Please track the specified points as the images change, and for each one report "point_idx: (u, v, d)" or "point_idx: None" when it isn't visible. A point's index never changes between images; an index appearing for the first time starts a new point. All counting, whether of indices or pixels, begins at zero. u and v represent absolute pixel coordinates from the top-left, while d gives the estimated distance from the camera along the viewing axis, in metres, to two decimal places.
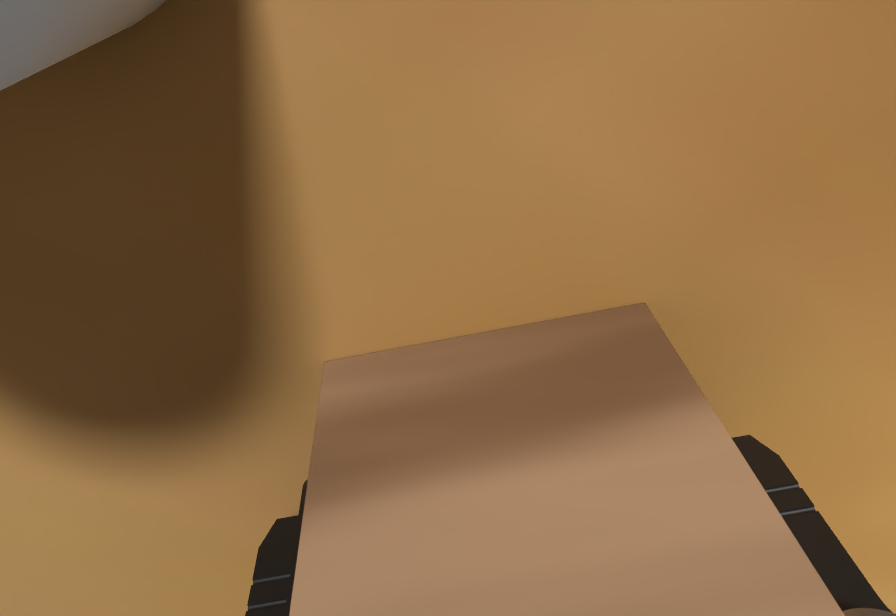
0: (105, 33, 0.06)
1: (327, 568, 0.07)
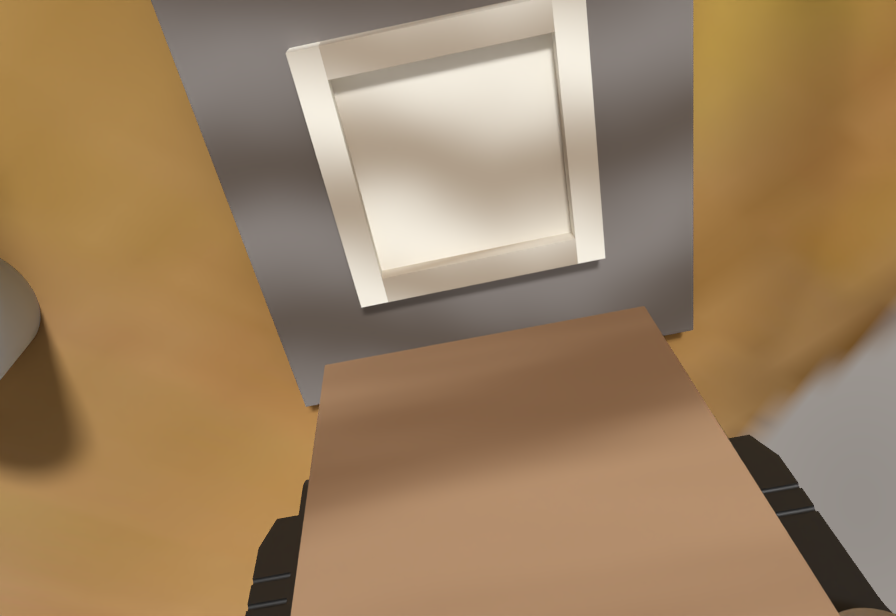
0: None
1: (329, 571, 0.07)
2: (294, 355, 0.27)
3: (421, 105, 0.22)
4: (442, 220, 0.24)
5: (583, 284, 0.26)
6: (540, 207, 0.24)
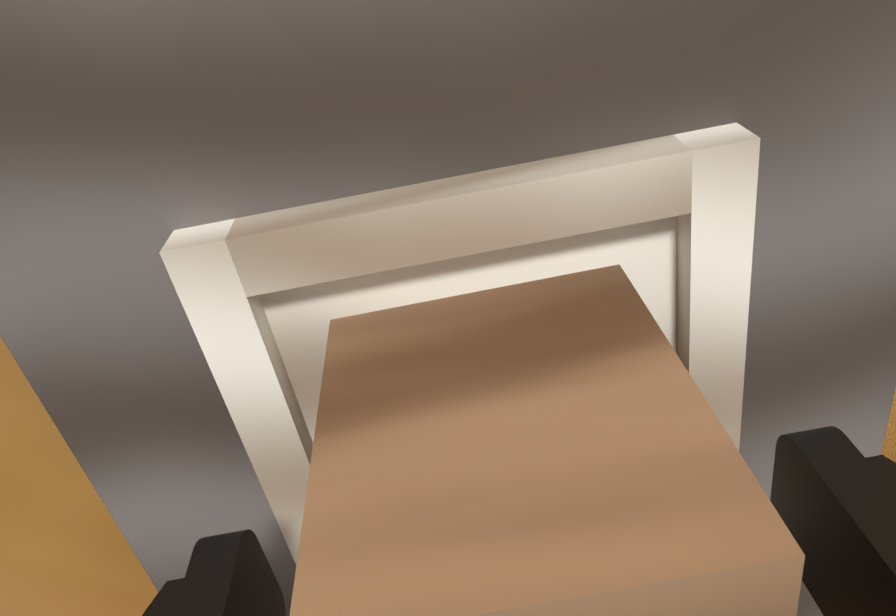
0: None
1: (334, 480, 0.08)
2: None
3: None
4: None
5: None
6: None
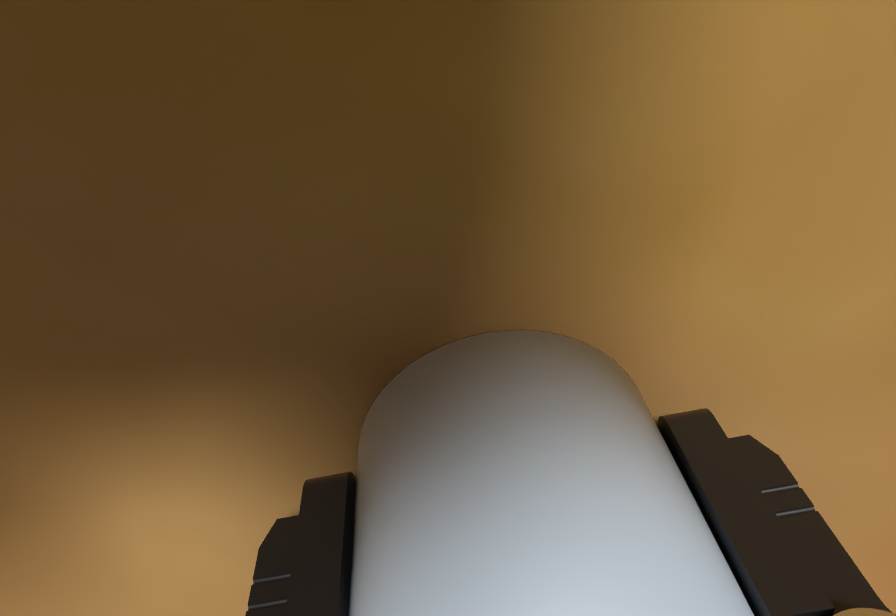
0: None
1: None
2: None
3: None
4: None
5: None
6: None
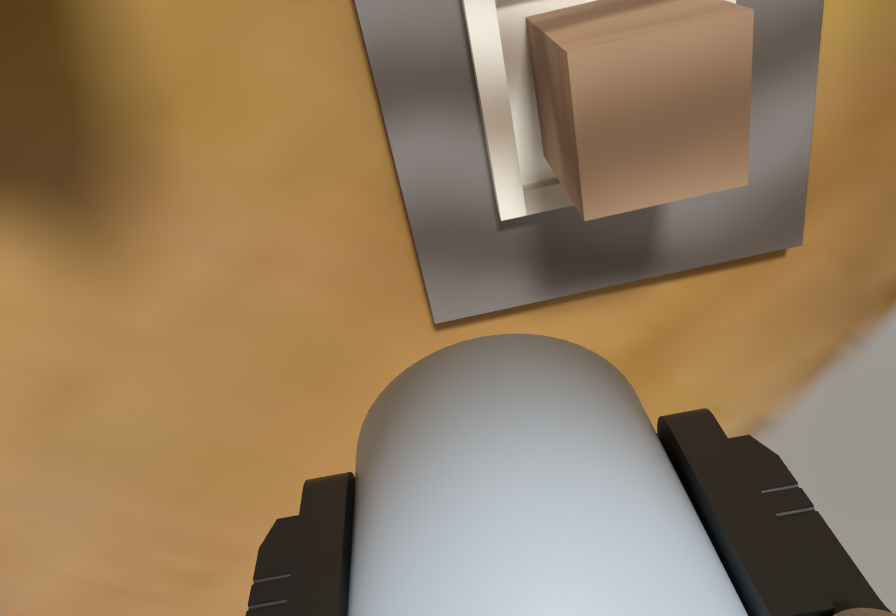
0: None
1: (561, 35, 0.20)
2: (429, 271, 0.28)
3: None
4: None
5: (704, 199, 0.28)
6: None
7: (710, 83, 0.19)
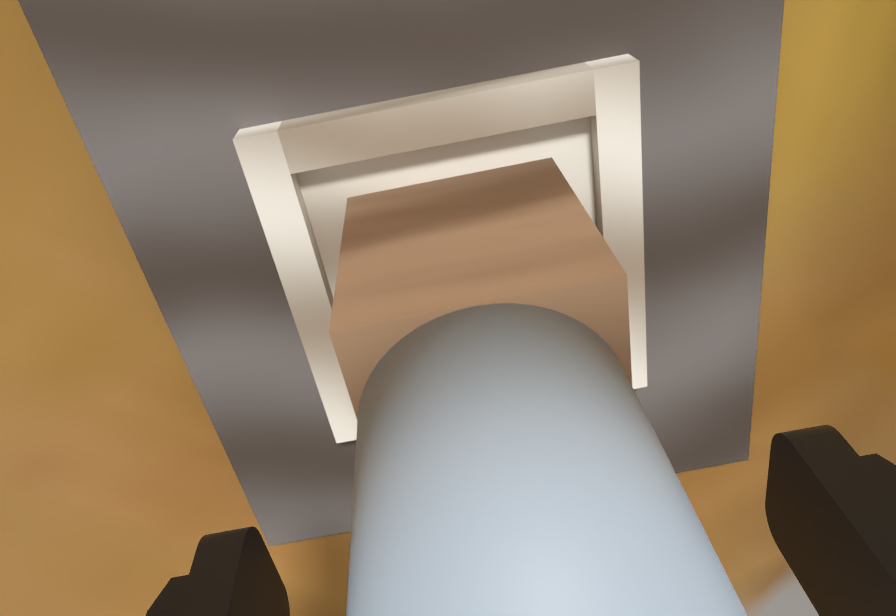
0: None
1: (354, 268, 0.13)
2: (253, 490, 0.21)
3: None
4: None
5: None
6: None
7: None
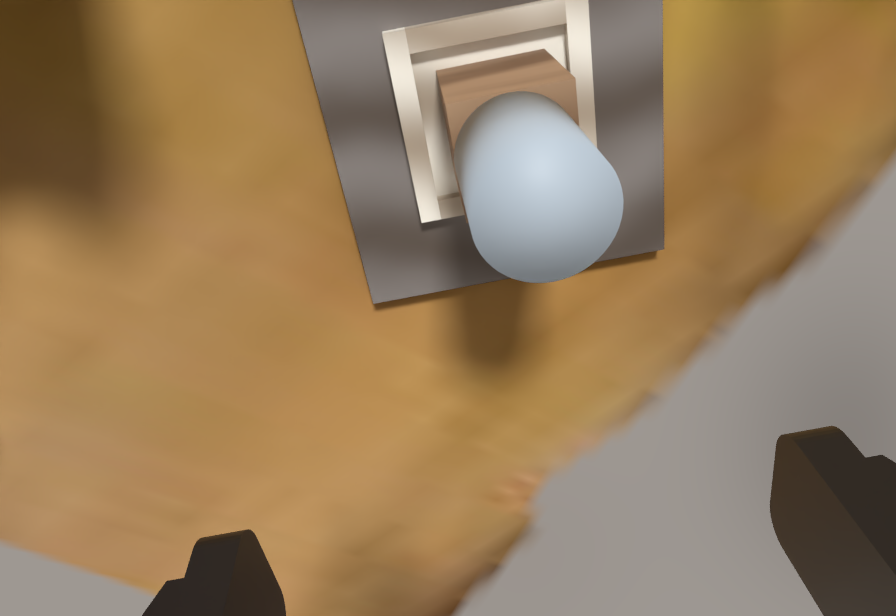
0: None
1: (449, 89, 0.28)
2: (367, 261, 0.36)
3: None
4: None
5: None
6: None
7: None
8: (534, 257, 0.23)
